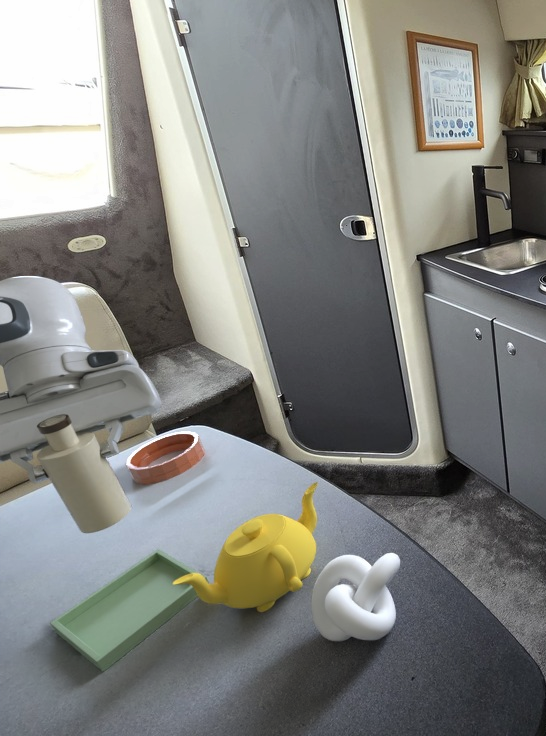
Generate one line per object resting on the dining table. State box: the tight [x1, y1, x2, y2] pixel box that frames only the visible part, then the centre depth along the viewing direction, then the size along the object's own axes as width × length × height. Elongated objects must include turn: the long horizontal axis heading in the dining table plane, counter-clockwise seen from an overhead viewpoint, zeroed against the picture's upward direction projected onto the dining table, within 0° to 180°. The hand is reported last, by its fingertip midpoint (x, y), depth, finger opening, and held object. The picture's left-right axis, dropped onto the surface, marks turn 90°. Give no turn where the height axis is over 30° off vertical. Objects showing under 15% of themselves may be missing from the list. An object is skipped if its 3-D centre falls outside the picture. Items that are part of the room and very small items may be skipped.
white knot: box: [310, 552, 401, 642], centre depth 68 cm, size 11×12×9 cm
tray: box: [49, 548, 210, 673], centre depth 73 cm, size 13×13×2 cm
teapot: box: [173, 481, 319, 613], centre depth 74 cm, size 20×15×12 cm
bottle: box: [36, 414, 132, 534], centre depth 68 cm, size 6×6×17 cm
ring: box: [125, 431, 205, 485], centre depth 100 cm, size 11×12×5 cm
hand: (77, 467), depth 68 cm, fingers closed on bottle, 5 cm apart
